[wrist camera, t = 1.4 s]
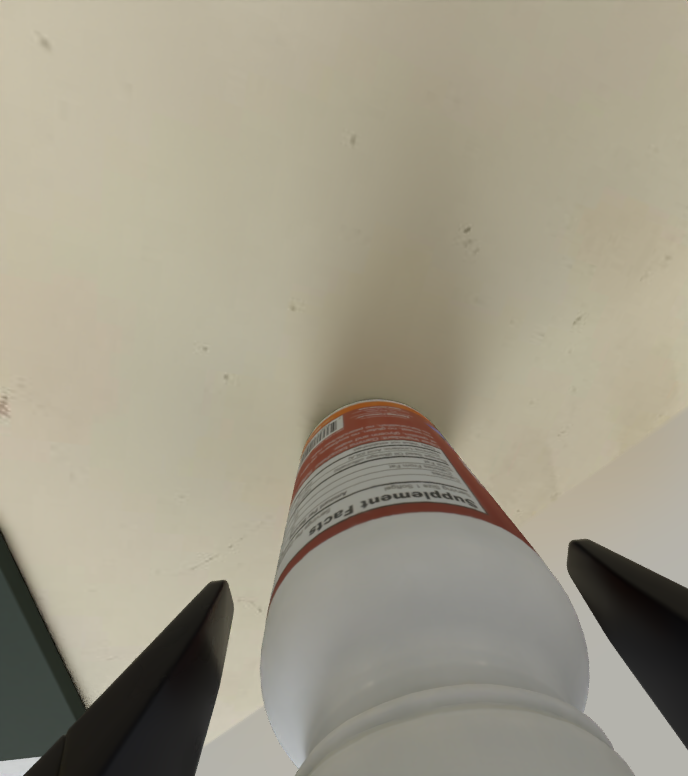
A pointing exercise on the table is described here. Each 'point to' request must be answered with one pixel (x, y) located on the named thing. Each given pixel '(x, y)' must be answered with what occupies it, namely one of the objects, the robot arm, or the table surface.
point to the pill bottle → (418, 619)
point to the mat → (29, 674)
